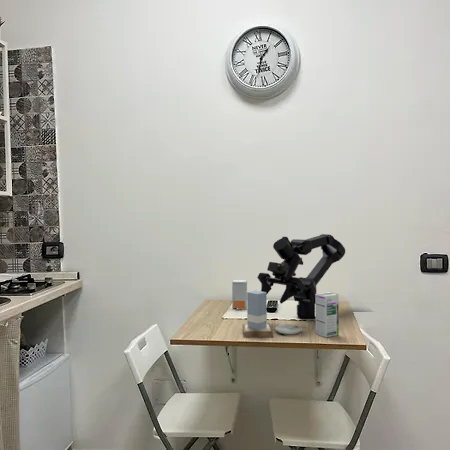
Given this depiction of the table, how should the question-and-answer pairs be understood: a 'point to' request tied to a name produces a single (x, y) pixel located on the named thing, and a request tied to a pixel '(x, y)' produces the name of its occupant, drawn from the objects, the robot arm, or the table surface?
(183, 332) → the table surface
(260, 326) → the carton
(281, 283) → the robot arm
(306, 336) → the table surface
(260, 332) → the tray
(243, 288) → the skincare box
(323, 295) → the syrup box
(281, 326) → the saucer
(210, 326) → the table surface
